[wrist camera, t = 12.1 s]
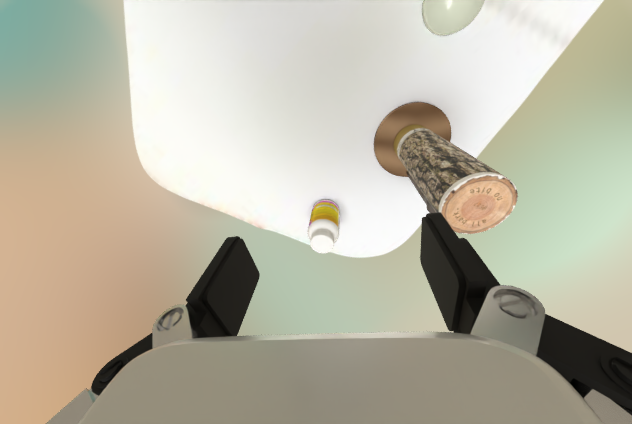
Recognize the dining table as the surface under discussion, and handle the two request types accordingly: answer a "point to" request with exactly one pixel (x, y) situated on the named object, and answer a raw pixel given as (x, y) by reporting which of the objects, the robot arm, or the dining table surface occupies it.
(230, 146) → the dining table surface
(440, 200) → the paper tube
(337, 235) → the supplement bottle
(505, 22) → the dining table surface
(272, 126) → the dining table surface
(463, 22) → the sage dish
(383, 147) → the holder base
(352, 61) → the dining table surface
